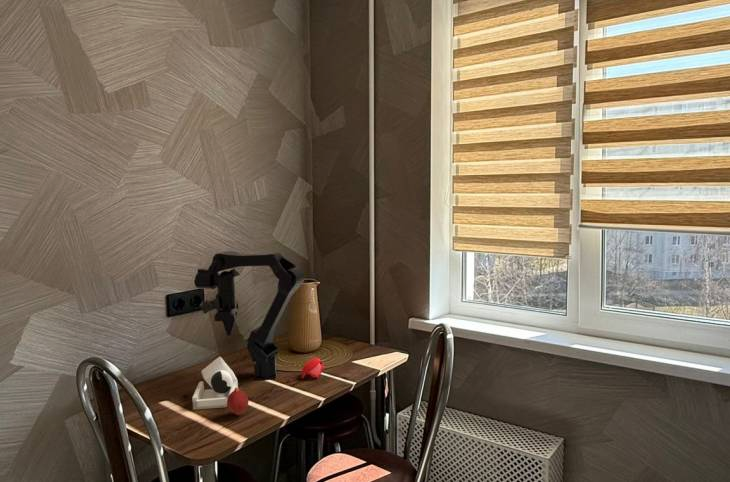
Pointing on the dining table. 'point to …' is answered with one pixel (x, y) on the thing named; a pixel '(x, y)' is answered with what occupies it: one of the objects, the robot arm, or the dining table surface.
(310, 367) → the cap
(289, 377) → the dining table surface
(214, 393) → the cradle
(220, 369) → the medicine bottle
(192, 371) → the dining table surface
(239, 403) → the red rounded lump
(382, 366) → the dining table surface
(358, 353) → the dining table surface
